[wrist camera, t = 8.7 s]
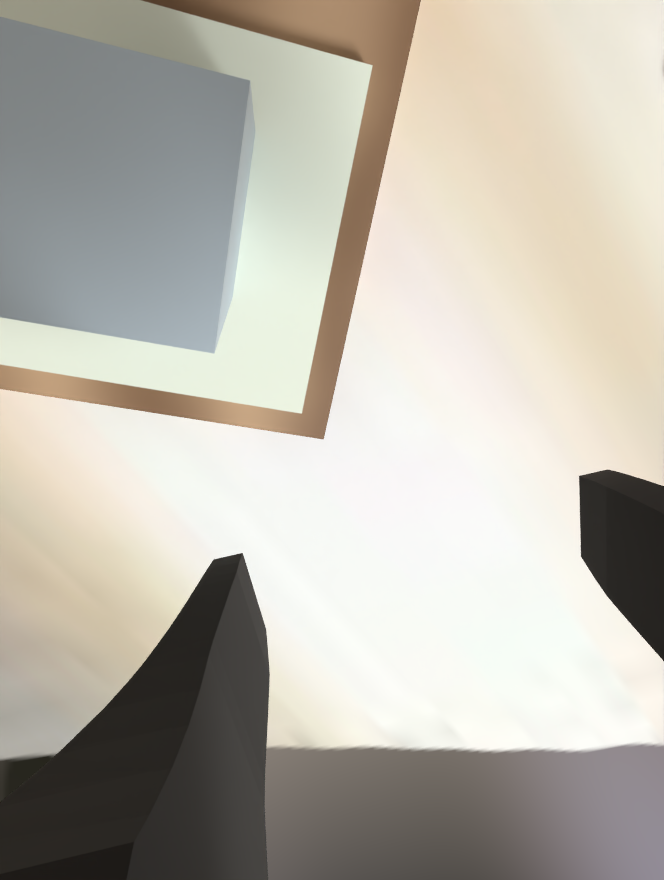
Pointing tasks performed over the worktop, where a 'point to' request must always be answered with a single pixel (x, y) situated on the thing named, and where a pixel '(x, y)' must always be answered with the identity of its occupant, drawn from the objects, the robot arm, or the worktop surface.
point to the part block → (119, 188)
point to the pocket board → (386, 48)
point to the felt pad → (265, 217)
